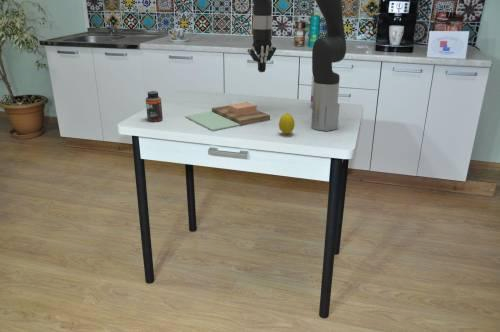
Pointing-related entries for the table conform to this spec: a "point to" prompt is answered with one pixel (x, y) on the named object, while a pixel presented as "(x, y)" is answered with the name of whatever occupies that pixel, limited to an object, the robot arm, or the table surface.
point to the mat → (212, 121)
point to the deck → (241, 116)
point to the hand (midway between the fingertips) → (261, 71)
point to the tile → (242, 108)
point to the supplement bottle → (154, 107)
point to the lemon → (286, 123)
